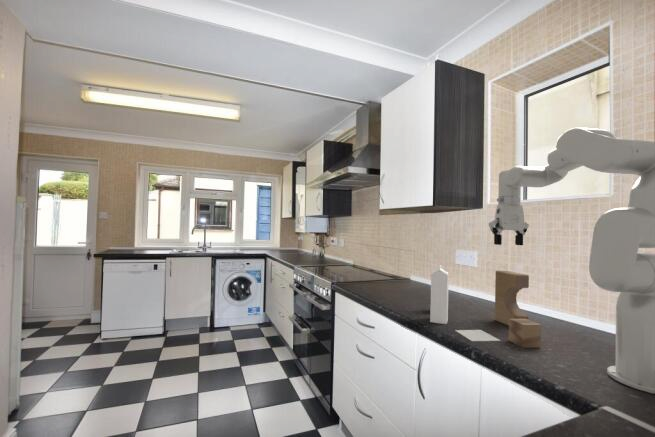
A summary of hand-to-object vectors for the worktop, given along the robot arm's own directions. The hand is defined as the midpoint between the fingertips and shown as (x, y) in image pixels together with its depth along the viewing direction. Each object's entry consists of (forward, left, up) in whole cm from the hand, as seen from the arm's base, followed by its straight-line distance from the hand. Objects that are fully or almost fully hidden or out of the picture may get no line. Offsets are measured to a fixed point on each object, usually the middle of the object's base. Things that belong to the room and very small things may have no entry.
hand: (508, 244), depth 117 cm
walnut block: (-20, +11, -31) cm, 38 cm away
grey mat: (-12, +22, -31) cm, 40 cm away
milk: (+4, +27, -31) cm, 41 cm away
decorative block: (-1, 0, -31) cm, 31 cm away
